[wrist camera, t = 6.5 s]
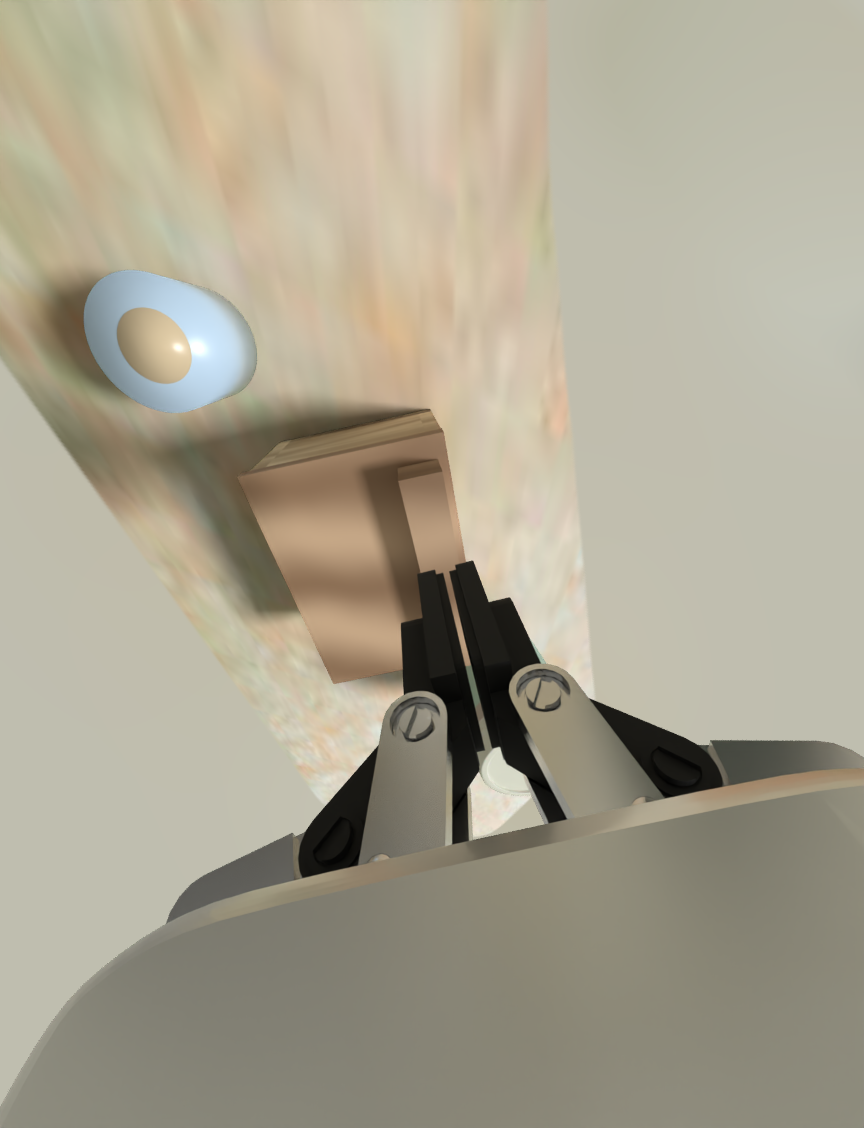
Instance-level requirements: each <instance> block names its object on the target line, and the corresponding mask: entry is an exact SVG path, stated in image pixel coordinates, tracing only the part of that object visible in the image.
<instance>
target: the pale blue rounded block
mask: <svg viewBox="0 0 864 1128" xmlns="http://www.w3.org/2000/svg"><path fill="white" fill-rule="evenodd" d="M84 328H85V334H86V338H87V342H88V344H89V347H90V350H91V352H92V354H93V356H94V358H95V360H96V362H97V363H98V365H99V366H100V368H101V370H102V371H103V372H104V373H105V375H106V376H107V377H108V378H109V379H110V381H111V382H112V383H113V384H114V385H115V386H116V387H117V388H119V389H120V390H121V391H122V392H123V393H125V394H126V395H127V396H129V397H130V398H131V399H133V400H135V401H136V402H138V403H140V404H142V405H144V406H146V407H149V408H152V409H154V410H158V411H162V412H169V413H182V412H188V411H191V410H194V409H197V408H200V407H203V406H205V405H208V404H211V403H213V402H216V401H219V400H221V399H224V398H227V397H230V396H232V395H235V394H237V393H239V392H240V391H242V390H243V389H244V388H245V387H246V386H247V385H248V384H249V382H250V381H251V379H252V377H253V375H254V372H255V369H256V364H257V350H256V344H255V340H254V337H253V334H252V332H251V329H250V327H249V325H248V323H247V322H246V320H245V319H244V317H243V316H242V314H241V313H240V312H239V311H238V309H237V308H236V307H235V306H234V305H233V304H232V303H231V302H230V301H228V300H227V299H226V298H224V297H223V296H221V295H220V294H218V293H216V292H214V291H212V290H210V289H207V288H204V287H201V286H197V285H193V284H190V283H186V282H182V281H178V280H175V279H171V278H167V277H163V276H160V275H156V274H152V273H148V272H144V271H138V270H124V271H118V272H115V273H111V274H109V275H107V276H105V277H104V278H102V279H101V280H100V281H99V282H97V283H96V285H95V286H94V287H93V288H92V290H91V292H90V293H89V295H88V297H87V301H86V304H85V309H84Z"/></svg>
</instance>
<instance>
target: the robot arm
mask: <svg viewBox="0 0 864 1128" xmlns="http://www.w3.org/2000/svg"><path fill="white" fill-rule="evenodd" d="M455 568H456V570H452V571H449V574H450V578H451V582H452V587H453V591H454V595H455V600H456V604H457V609H458V613H459V617H460V622H461V626H462V630H463V635H464V639H465V643H466V647H467V651H468V655H469V659H470V663H471V667H472V671H473V675H474V679H475V683H476V687H477V691H478V695H479V699H480V703H481V707H482V711H483V715H484V719H485V723H486V727H487V731H488V735H489V739H490V743H491V747H492V749H493V748H498V747H500V749H501V752H502V756H503V760H505V762H506V764H507V765H509V766H511V767H512V768H514V769H516V770H517V771H519V772H521V773H522V774H523V778H524V781H525V783H526V785H527V787H528V790H529V792H530V794H531V796H532V798H533V800H534V802H535V804H536V806H537V809H538V811H539V813H540V815H541V817H542V819H543V821H544V824H545V825H540V826H536V827H531V828H526V829H522V830H517V831H512V832H508V833H503V834H499V835H494V836H489V837H485V838H480V839H476V840H473V834H472V807H471V790H470V784H471V782H472V781H473V779H474V778H475V776H476V775H477V773H478V772H479V770H480V768H479V766H480V763H479V759H478V754H477V752H480V751H485V747H484V743H483V739H482V734H481V730H480V726H479V722H478V717H477V713H476V709H475V705H474V700H473V696H472V692H471V687H470V683H469V679H468V675H467V670H466V666H465V662H464V658H463V653H462V649H461V645H460V641H459V636H458V632H457V628H456V624H455V620H454V616H453V611H452V607H451V603H450V599H449V595H448V590H447V586H446V582H445V578H444V574H443V573H439V574H436V571H435V570H431V571H426V572H422V573H418V574H417V578H418V586H419V594H420V602H421V610H422V618H419V619H415V620H411V621H407V622H402V623H401V644H402V666H403V687H404V695H403V696H402V697H400V698H398V699H397V700H396V701H395V702H394V703H392V704H391V706H390V707H389V709H388V710H387V711H386V713H385V716H384V719H383V723H382V729H381V735H380V741H379V745H378V746H377V748H376V749H375V750H374V751H373V752H372V753H371V754H370V756H369V757H368V758H367V759H366V760H365V761H364V762H363V764H362V765H361V766H360V767H359V768H358V769H357V771H356V772H355V773H354V774H353V775H352V776H351V777H350V779H349V780H348V781H347V782H346V783H345V784H344V785H343V787H342V788H341V789H340V790H339V791H338V792H337V793H336V795H335V796H334V797H333V798H332V799H331V800H330V802H329V803H328V804H327V805H326V806H325V807H324V808H323V810H322V811H321V812H320V813H319V814H318V815H317V816H316V818H315V819H314V820H313V821H312V823H311V824H310V826H309V827H308V829H307V830H306V832H304V833H302V834H300V835H298V836H295V835H294V834H293V833H291V834H289V835H287V836H285V837H283V838H281V839H279V840H276V841H274V842H272V843H270V844H268V845H266V846H264V847H262V848H260V849H258V850H255V851H254V852H251V853H250V854H248V855H245V856H243V857H241V858H239V859H237V860H235V861H233V862H231V863H229V864H226V865H224V866H222V867H220V868H218V869H216V870H214V871H212V872H210V873H208V874H206V875H204V876H202V877H201V878H199V879H198V880H196V881H195V882H193V883H192V884H191V885H190V886H189V887H188V888H187V889H186V890H185V891H184V892H183V893H182V895H181V896H180V897H179V898H178V900H177V902H176V903H175V905H174V907H173V908H172V910H171V912H170V914H169V917H168V920H167V923H166V924H165V925H163V926H162V927H160V928H158V929H157V930H155V931H153V932H152V933H150V934H148V935H147V936H145V937H143V938H142V939H140V940H139V941H137V942H136V943H135V944H133V945H132V946H130V947H129V948H128V949H126V950H125V951H124V952H122V953H121V954H119V955H118V956H117V957H115V958H114V959H113V960H112V961H110V962H109V963H108V964H106V965H105V966H104V967H103V968H101V969H100V970H99V971H98V972H97V973H96V974H95V975H93V976H92V977H91V978H90V979H89V980H88V981H87V982H86V983H85V984H84V985H82V987H81V988H80V989H79V990H78V991H77V992H76V993H75V994H74V995H73V996H72V997H71V998H70V1000H68V1001H67V1003H66V1004H65V1005H64V1006H63V1008H62V1009H61V1010H60V1012H59V1013H58V1015H57V1016H56V1017H55V1018H54V1019H53V1021H52V1022H51V1023H50V1025H49V1026H48V1028H47V1029H46V1031H45V1033H44V1034H43V1035H42V1037H41V1038H40V1040H39V1042H38V1043H37V1044H36V1046H35V1048H34V1049H33V1051H32V1053H31V1054H30V1056H29V1057H28V1059H27V1061H26V1063H25V1064H24V1066H23V1067H22V1069H21V1071H20V1072H19V1074H18V1076H17V1078H16V1079H15V1081H14V1083H13V1085H12V1087H11V1088H10V1090H9V1092H8V1094H7V1096H6V1097H5V1099H4V1101H3V1103H2V1104H1V1106H0V1128H864V757H862V756H860V755H859V754H857V753H856V752H854V751H852V750H850V749H847V748H845V747H842V746H839V745H837V744H834V743H828V742H821V741H746V740H745V741H744V740H740V741H739V740H730V741H729V740H710V743H709V745H697V744H695V743H693V742H691V741H689V740H688V739H686V738H684V737H681V736H679V735H677V734H674V733H672V732H669V731H667V730H665V729H662V728H660V727H657V726H655V725H652V724H650V723H648V722H645V721H643V720H640V719H638V718H635V717H633V716H631V715H628V714H626V713H623V712H621V711H619V710H616V709H614V708H611V707H609V706H606V705H604V704H602V703H599V702H597V701H594V700H592V699H590V698H588V697H587V695H586V694H585V693H584V691H583V690H582V689H581V688H580V686H579V685H578V684H577V682H576V681H575V680H574V678H573V677H572V676H571V675H570V674H569V673H568V672H567V671H565V670H563V669H561V668H559V667H558V666H554V665H550V664H541V662H540V660H539V658H538V656H537V654H536V651H535V649H534V647H533V645H532V643H531V641H530V638H529V636H528V634H527V632H526V630H525V628H524V625H523V623H522V621H521V619H520V617H519V615H518V612H517V610H516V608H515V606H514V604H513V602H512V600H511V598H510V597H509V598H505V599H501V600H496V601H492V602H488V599H487V596H486V594H485V591H484V588H483V586H482V583H481V580H480V578H479V575H478V572H477V570H476V567H475V564H474V562H473V561H469V562H464V563H460V564H456V565H455Z"/></svg>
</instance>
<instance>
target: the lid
mask: <svg viewBox="0 0 864 1128" xmlns="http://www.w3.org/2000/svg"><path fill="white" fill-rule="evenodd" d="M237 479H238V481H239V483H240V485H241V488H242V490H243V492H244V494H245V496H246V498H247V500H248V502H249V505H250V507H251V509H252V511H253V513H254V515H255V517H256V520H257V522H258V524H259V526H260V528H261V530H262V532H263V534H264V537H265V539H266V541H267V543H268V545H269V547H270V549H271V551H272V554H273V556H274V558H275V560H276V562H277V564H278V566H279V569H280V571H281V573H282V575H283V577H284V579H285V581H286V583H287V586H288V588H289V590H290V592H291V594H292V596H293V598H294V601H295V603H296V605H297V607H298V609H299V611H300V613H301V615H302V618H303V620H304V622H305V624H306V626H307V628H308V630H309V633H310V635H311V637H312V639H313V641H314V643H315V645H316V647H317V650H318V652H319V654H320V656H321V658H322V660H323V662H324V665H325V667H326V669H327V671H328V673H329V675H330V677H331V679H332V682H333V684H337V683H341V682H346V681H351V680H356V679H360V678H365V677H370V676H375V675H379V674H384V673H389V672H394V671H399V670H403V666H402V644H401V623H402V622H407V621H411V620H415V619H419V618H422V610H421V602H420V594H419V586H418V578H417V574H418V573H422V572H426V571H431V570H435V571H436V574H439V573H443V574H444V578H445V582H446V586H447V590H448V595H449V599H450V603H451V607H452V611H453V616H454V620H455V624H456V628H457V632H458V636H459V641H460V645H461V649H462V653H463V658H464V662H465V666H470V665H471V663H470V659H469V655H468V651H467V647H466V643H465V639H464V635H463V630H462V626H461V622H460V617H459V613H458V609H457V604H456V600H455V595H454V591H453V587H452V582H451V578H450V574H449V571H452V570H456V568H455V565H456V564H460V563H464V562H466V560H465V554H464V549H463V543H462V537H461V531H460V525H459V519H458V513H457V508H456V502H455V496H454V490H453V484H452V478H451V472H450V467H449V461H448V455H447V449H446V443H445V437H444V432H443V430H442V428H441V429H437V430H432V431H427V432H423V433H418V434H414V435H409V436H405V437H400V438H396V439H391V440H387V441H382V442H378V443H373V444H368V445H364V446H359V447H355V448H350V449H346V450H341V451H337V452H332V453H328V454H323V455H318V456H314V457H309V458H305V459H300V460H296V461H291V462H287V463H282V464H278V465H273V466H268V467H264V468H259V469H255V470H250V471H246V472H242V473H241V474H240V475H239V476H238V477H237Z"/></svg>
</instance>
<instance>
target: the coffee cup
mask: <svg viewBox="0 0 864 1128" xmlns="http://www.w3.org/2000/svg"><path fill="white" fill-rule="evenodd" d="M530 641H531V639H530ZM531 643H532V645H533V647H534V649H535V651H536V654H537V656H538V658H539V660H540V662H541V664H546V662H545V661H544V659H543V658H542V656H541V655H540V653H539V652H538V650H537V648H536V647H535V645H534V644H533V642H532V641H531ZM466 670H467V675H468V679H469V683H470V687H471V692H472V696H473V700H474V705H475V709H476V713H477V717H478V722H479V726H480V730H481V734H482V739H483V743H484V747H485V751H480V752H477V754H478V759H479V763H480V766H479V768H480V770H479V773H480V775H481V777H482V779H483V781H484V782H485V783H486V784H487V785H488V786H489V787H490V788H491V789H493V790H495V791H497V792H499V793H503V794H506V795H513V796H530V795H531V794H530V792H529V790H528V787H527V785H526V783H525V781H524V778H523V774H522V773H521V772H519V771H517V770H516V769H514V768H512V767H511V766H509V765H507V764H506V762H505V760H503V756H502V752H501V749H500V747H498V748H493V749H492V747H491V743H490V739H489V735H488V731H487V727H486V723H485V719H484V715H483V711H482V707H481V703H480V699H479V695H478V691H477V687H476V683H475V679H474V675H473V671H472V667H471V665H470V666H466Z"/></svg>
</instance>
